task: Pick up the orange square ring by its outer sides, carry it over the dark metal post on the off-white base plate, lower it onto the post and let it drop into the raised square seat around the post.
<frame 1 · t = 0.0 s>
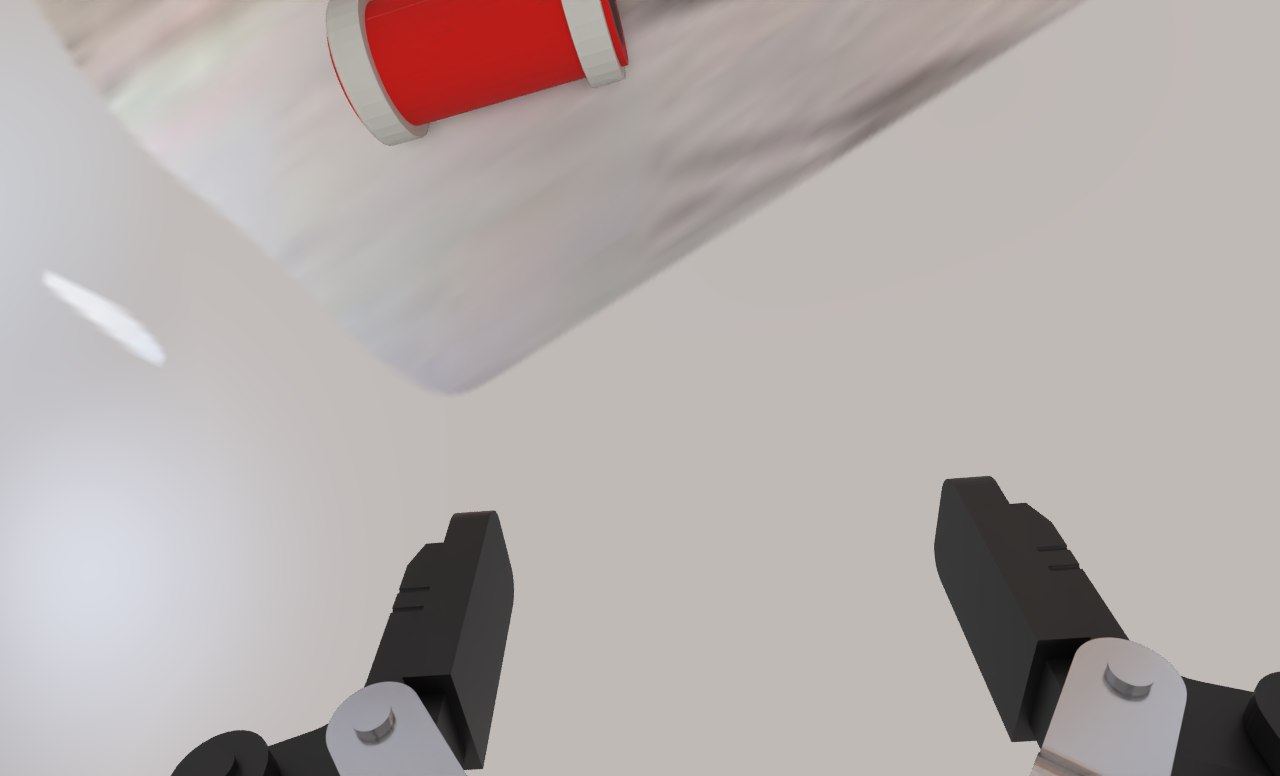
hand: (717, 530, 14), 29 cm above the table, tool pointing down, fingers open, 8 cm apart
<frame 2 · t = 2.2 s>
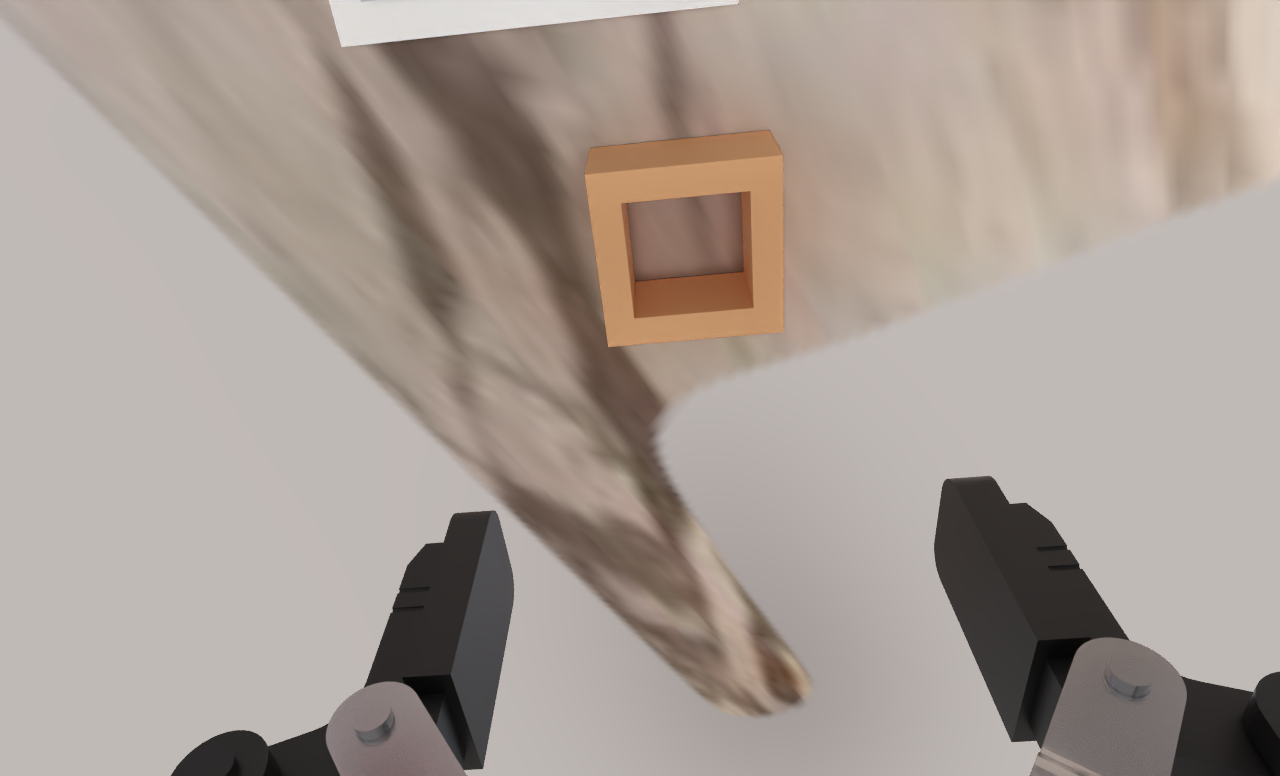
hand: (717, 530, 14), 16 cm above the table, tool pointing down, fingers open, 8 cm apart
ring: (685, 224, 28), on the table
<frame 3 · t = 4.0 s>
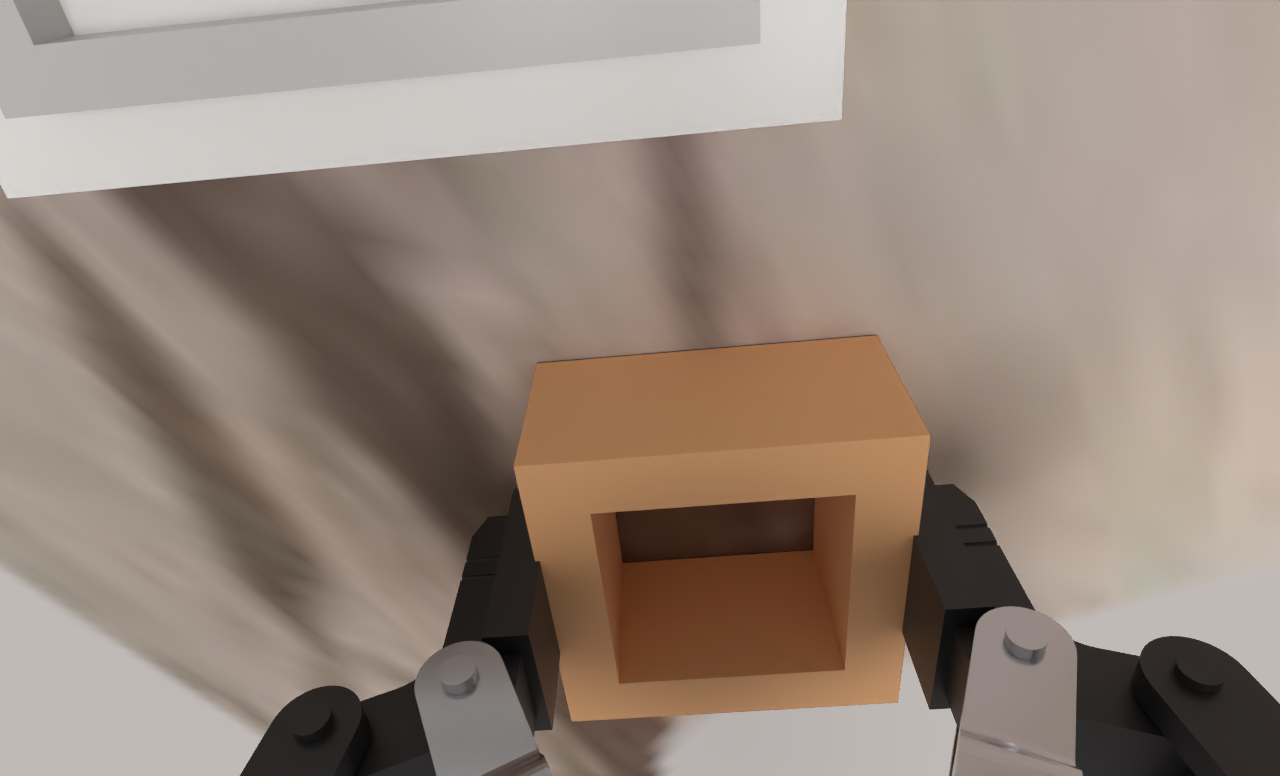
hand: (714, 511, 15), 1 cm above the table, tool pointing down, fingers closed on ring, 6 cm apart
ring: (712, 482, 15), on the table, touching gripper
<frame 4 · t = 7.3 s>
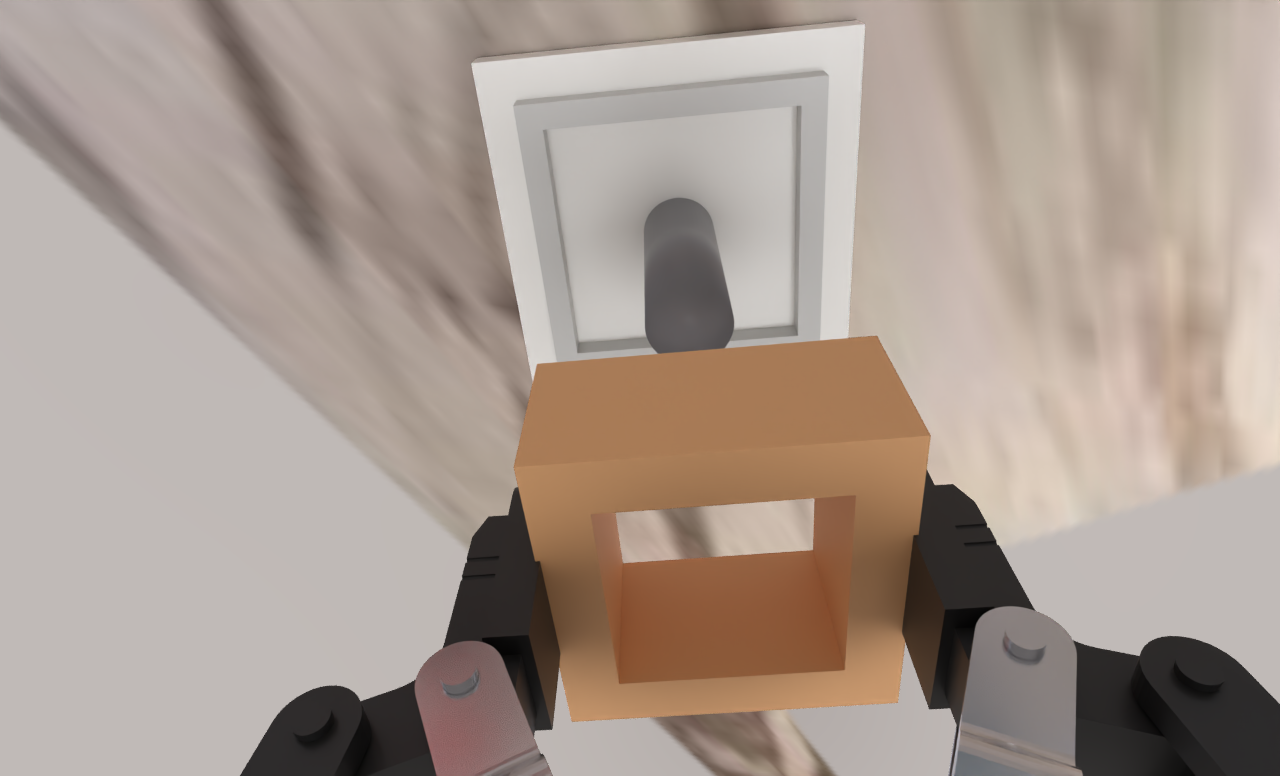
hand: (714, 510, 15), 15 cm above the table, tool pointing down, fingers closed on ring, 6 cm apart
post base: (677, 221, 28), on the table
ring: (712, 482, 15), point 15 cm above the table, touching gripper
when the fingers open (4 cm above the table, at t = 10.5 s): ring drops 2 cm, resting on post base.
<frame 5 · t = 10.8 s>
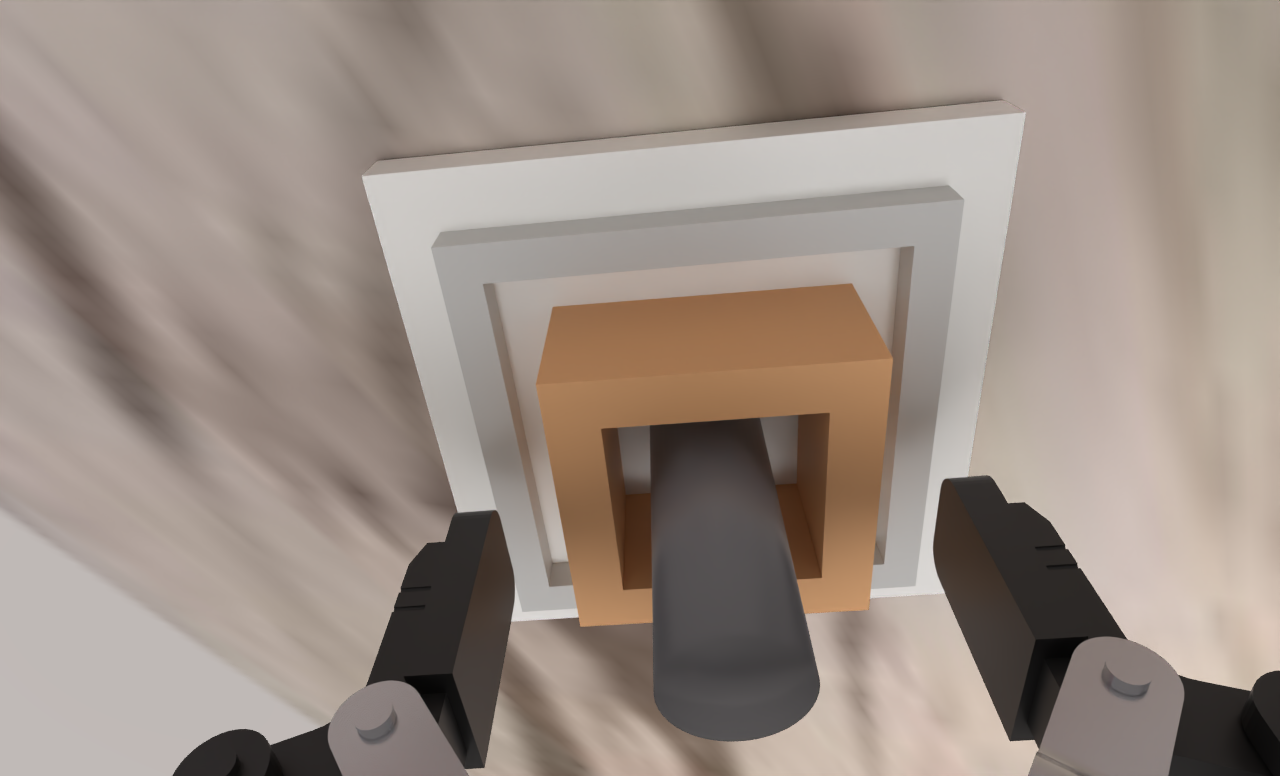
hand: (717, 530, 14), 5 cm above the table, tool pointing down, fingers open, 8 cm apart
post base: (700, 394, 18), on the table
ring: (707, 418, 17), point 1 cm above the table, touching post base
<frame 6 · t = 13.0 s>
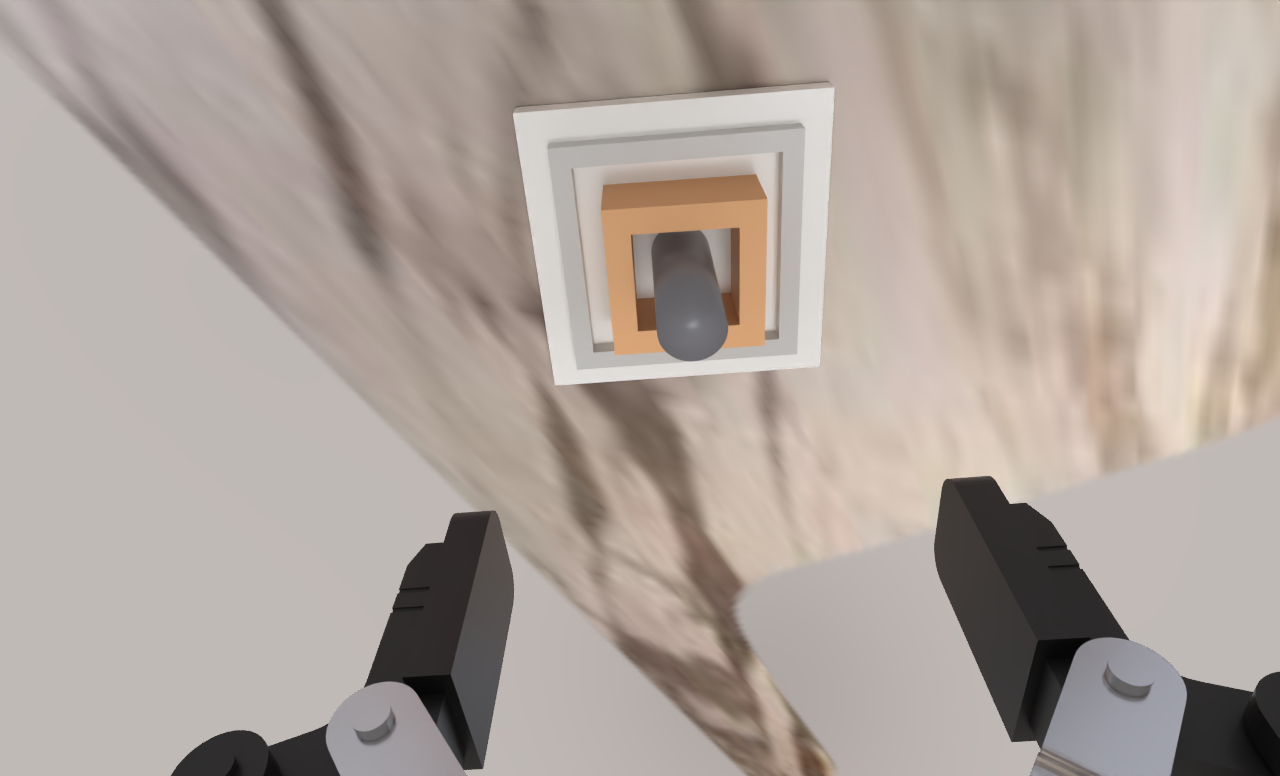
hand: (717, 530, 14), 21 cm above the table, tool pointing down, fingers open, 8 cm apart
post base: (679, 242, 33), on the table
ring: (682, 251, 32), point 1 cm above the table, touching post base
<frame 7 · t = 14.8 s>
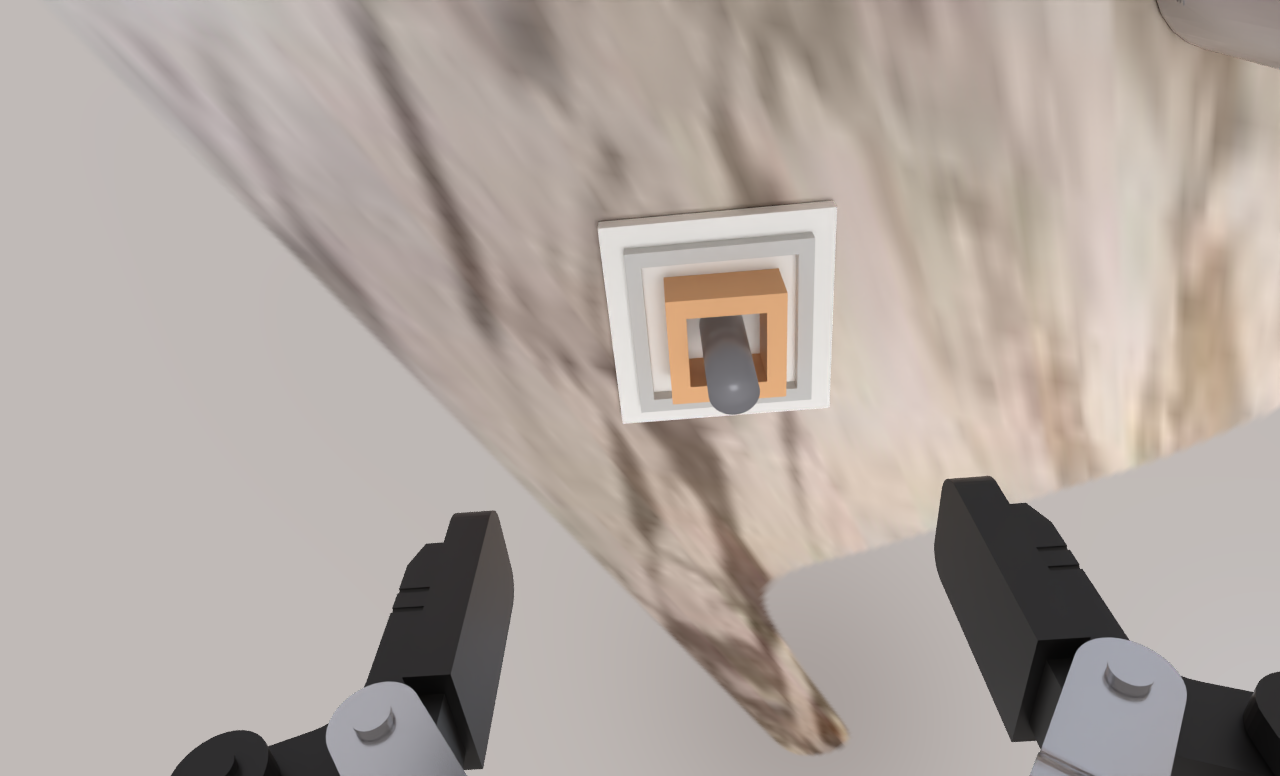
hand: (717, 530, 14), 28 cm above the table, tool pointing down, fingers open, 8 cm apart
post base: (719, 315, 43), on the table
ring: (722, 324, 42), point 1 cm above the table, touching post base
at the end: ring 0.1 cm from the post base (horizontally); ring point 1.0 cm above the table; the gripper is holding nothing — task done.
